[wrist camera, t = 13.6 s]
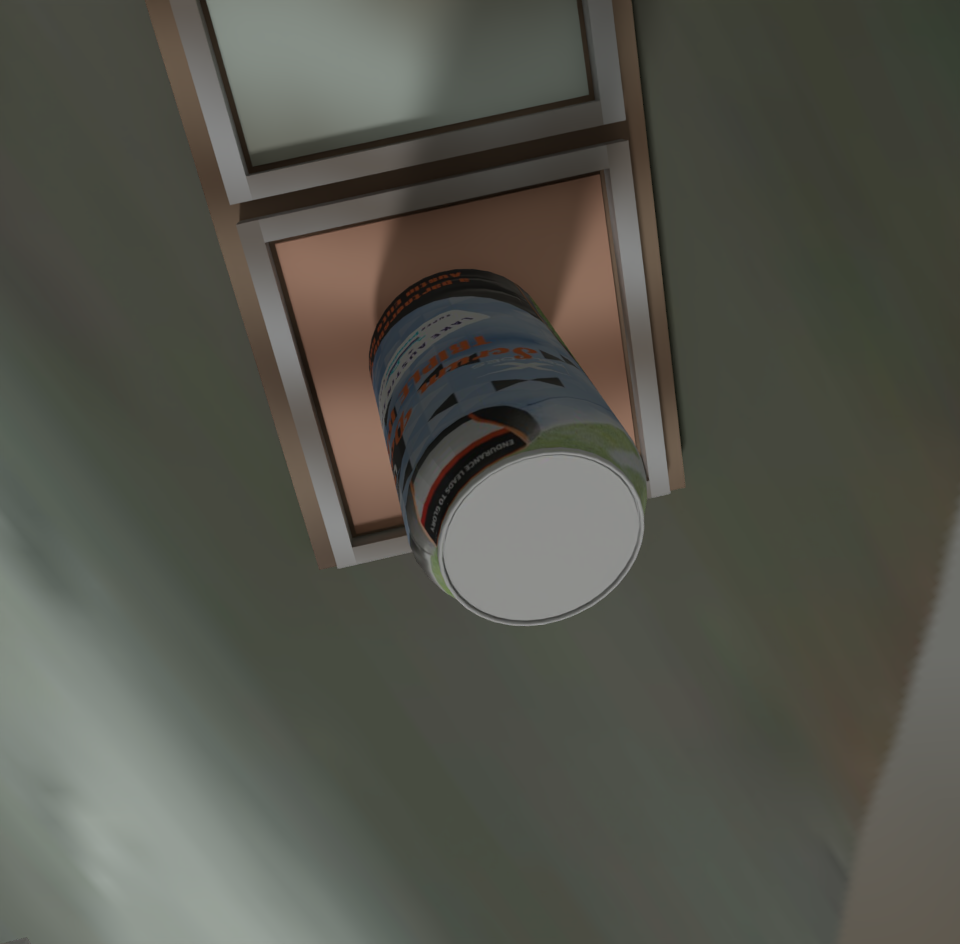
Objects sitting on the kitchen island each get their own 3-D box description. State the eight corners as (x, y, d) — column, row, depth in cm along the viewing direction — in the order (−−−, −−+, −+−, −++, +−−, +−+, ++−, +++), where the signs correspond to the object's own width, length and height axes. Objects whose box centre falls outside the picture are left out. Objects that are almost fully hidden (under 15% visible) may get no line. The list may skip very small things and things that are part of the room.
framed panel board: (68, -279, 25) (44, -307, 23) (577, -381, 25) (593, -417, 23) (320, 554, 35) (318, 580, 33) (675, 474, 35) (692, 495, 34)
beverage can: (462, 220, 29) (521, 306, 18) (605, 376, 32) (730, 532, 21) (325, 353, 31) (304, 509, 20) (474, 493, 33) (528, 698, 22)
